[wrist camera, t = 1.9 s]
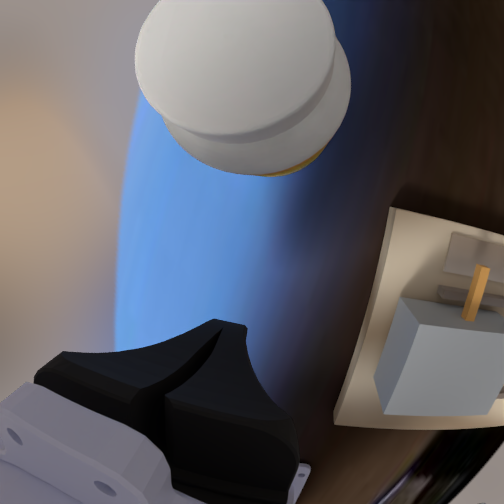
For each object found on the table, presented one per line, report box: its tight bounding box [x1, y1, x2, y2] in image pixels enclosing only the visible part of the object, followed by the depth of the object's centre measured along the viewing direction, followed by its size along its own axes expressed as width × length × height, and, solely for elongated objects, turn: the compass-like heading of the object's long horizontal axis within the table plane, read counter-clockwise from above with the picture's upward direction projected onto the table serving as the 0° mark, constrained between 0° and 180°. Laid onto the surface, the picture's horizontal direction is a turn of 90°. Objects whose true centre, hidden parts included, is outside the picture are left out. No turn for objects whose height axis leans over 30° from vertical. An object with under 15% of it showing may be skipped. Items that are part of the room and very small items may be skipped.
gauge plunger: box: [373, 264, 504, 416], centre depth 12 cm, size 7×6×3 cm
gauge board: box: [333, 207, 504, 430], centre depth 14 cm, size 12×16×2 cm
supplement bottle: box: [135, 0, 351, 177], centre depth 10 cm, size 5×5×10 cm
